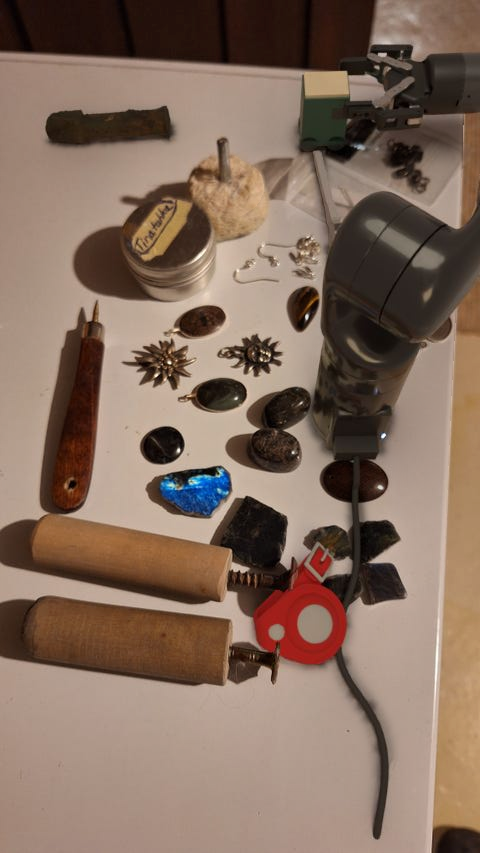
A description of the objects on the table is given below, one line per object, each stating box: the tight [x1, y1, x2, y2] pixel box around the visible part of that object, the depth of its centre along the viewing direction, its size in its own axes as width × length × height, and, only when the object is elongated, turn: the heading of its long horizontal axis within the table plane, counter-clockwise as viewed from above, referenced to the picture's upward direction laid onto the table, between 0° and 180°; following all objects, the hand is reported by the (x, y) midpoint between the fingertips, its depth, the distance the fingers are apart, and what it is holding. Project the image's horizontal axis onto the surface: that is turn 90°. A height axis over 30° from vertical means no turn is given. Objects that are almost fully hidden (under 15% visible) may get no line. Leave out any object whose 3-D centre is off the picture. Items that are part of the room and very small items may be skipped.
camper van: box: [297, 70, 351, 153], centre depth 92 cm, size 5×7×10 cm
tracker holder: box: [252, 541, 348, 666], centre depth 67 cm, size 12×4×10 cm
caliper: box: [312, 150, 342, 250], centre depth 88 cm, size 20×1×6 cm, turn 5°
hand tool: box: [44, 105, 172, 144], centre depth 96 cm, size 19×4×5 cm, turn 91°
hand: (341, 88), depth 88 cm, fingers open, 8 cm apart
